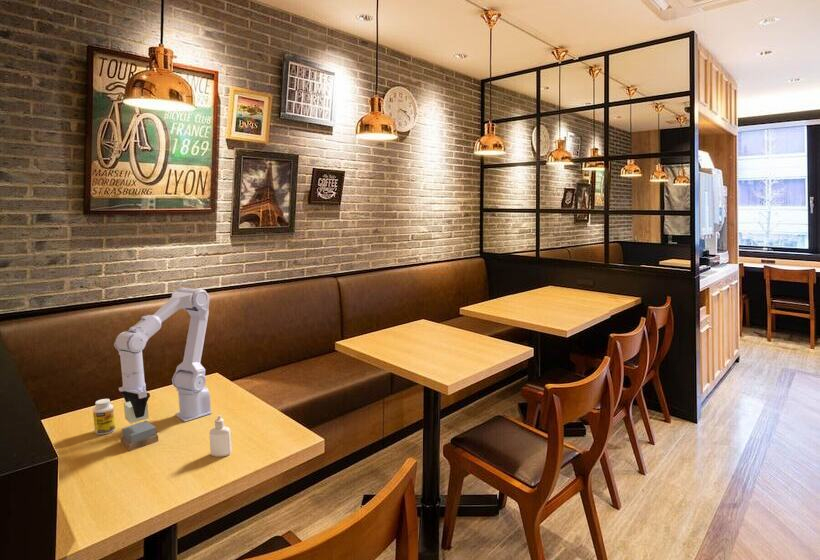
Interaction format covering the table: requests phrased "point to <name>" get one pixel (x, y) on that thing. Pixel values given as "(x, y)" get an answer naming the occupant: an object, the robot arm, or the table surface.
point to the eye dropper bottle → (220, 439)
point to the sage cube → (130, 413)
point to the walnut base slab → (139, 442)
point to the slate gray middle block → (139, 431)
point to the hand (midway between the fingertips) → (136, 413)
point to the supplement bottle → (103, 417)
